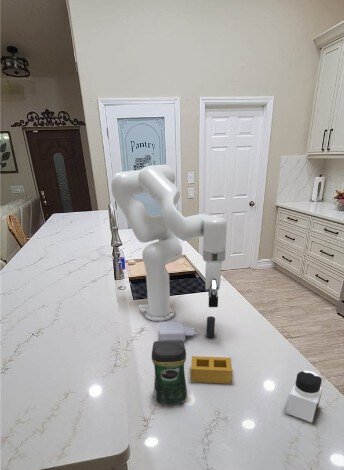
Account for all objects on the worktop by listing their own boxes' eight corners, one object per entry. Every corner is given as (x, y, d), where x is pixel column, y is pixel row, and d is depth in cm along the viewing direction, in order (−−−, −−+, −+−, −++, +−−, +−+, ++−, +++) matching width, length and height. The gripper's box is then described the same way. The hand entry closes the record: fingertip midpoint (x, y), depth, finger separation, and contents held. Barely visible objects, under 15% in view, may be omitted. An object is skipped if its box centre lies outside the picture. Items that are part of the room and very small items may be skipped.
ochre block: (190, 382, 103) (191, 369, 100) (191, 368, 109) (192, 356, 106) (231, 383, 101) (232, 370, 99) (229, 370, 108) (230, 357, 105)
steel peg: (206, 338, 125) (207, 319, 122) (206, 334, 128) (207, 316, 124) (214, 338, 125) (215, 320, 121) (214, 334, 128) (215, 316, 124)
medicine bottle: (312, 423, 87) (321, 388, 81) (285, 413, 90) (292, 378, 84) (318, 407, 92) (326, 372, 86) (292, 398, 95) (298, 364, 90)
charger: (199, 342, 123) (159, 343, 123) (197, 330, 131) (159, 331, 131) (199, 331, 120) (159, 332, 120) (197, 319, 129) (159, 320, 128)
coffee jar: (185, 386, 101) (185, 334, 92) (187, 405, 94) (187, 350, 85) (154, 388, 100) (151, 336, 92) (153, 406, 93) (150, 351, 85)
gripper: (203, 248, 119) (202, 291, 127) (202, 263, 104) (202, 311, 112) (224, 248, 119) (222, 292, 127) (226, 263, 103) (224, 311, 111)
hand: (212, 301), depth 119 cm, fingers open, 9 cm apart
